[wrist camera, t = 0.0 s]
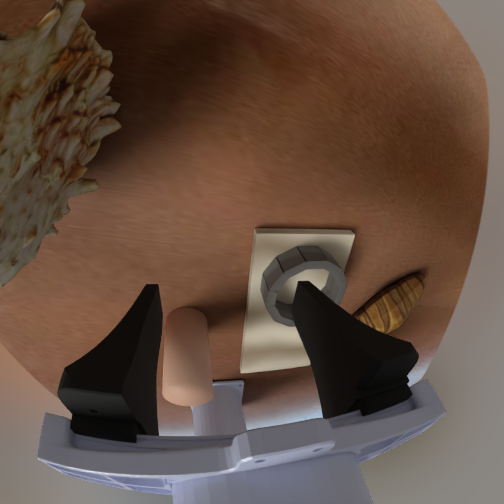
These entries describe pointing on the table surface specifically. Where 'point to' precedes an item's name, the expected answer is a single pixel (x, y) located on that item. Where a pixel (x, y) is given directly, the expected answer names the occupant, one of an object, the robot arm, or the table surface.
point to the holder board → (288, 291)
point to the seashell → (48, 126)
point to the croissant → (392, 304)
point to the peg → (187, 358)
